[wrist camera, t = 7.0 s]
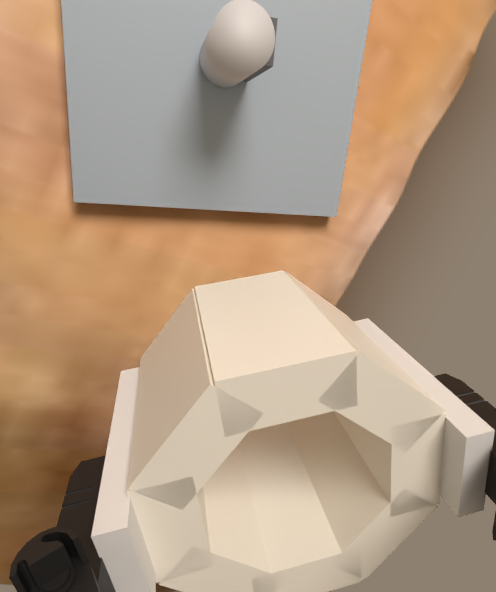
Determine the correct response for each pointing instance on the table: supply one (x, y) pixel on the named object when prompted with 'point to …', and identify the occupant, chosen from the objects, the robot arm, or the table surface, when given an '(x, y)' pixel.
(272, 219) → the table surface
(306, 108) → the shaft plate
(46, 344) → the table surface
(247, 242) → the table surface
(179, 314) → the beige octagonal hollow block
